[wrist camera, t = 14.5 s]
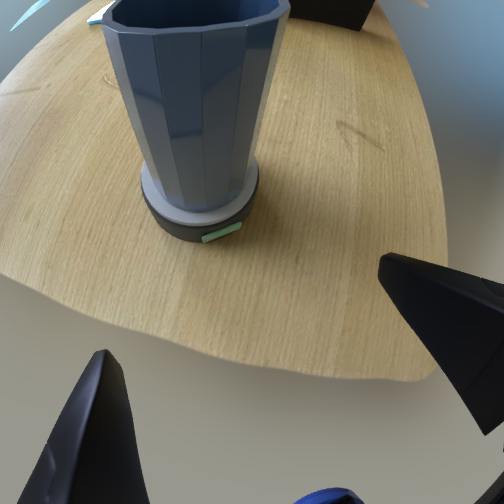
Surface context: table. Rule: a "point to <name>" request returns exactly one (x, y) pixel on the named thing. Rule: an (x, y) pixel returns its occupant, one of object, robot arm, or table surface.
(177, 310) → the table surface
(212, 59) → the tumbler
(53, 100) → the table surface
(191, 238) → the kitchen scale
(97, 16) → the smartphone
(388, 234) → the table surface
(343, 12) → the radio
